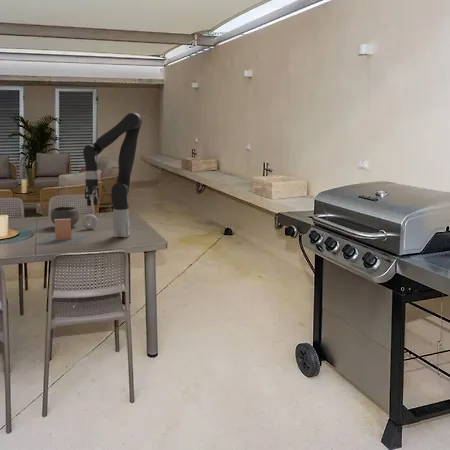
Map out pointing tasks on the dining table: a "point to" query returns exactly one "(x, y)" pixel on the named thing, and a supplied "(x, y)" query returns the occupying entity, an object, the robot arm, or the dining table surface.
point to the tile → (62, 229)
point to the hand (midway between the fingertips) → (92, 205)
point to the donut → (91, 217)
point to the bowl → (65, 214)
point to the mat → (74, 241)
